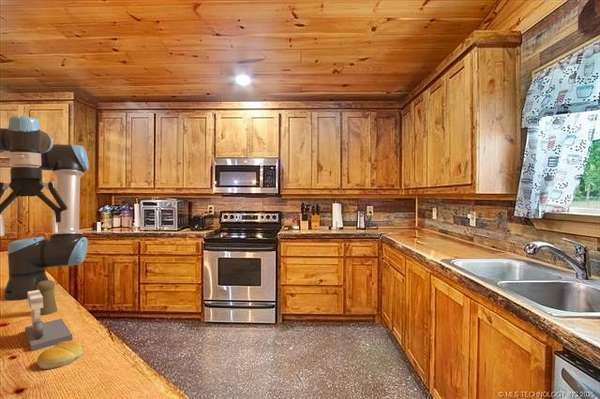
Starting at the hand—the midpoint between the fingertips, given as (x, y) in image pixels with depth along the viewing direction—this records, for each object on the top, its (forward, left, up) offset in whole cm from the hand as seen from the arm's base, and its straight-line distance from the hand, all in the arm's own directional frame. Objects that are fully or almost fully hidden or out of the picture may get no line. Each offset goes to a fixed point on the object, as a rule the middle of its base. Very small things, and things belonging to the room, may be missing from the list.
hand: (29, 234), depth 103 cm
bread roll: (+31, +14, -29) cm, 45 cm away
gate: (+13, +5, -27) cm, 30 cm away
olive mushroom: (-11, +1, -29) cm, 31 cm away
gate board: (+13, +7, -29) cm, 32 cm away
